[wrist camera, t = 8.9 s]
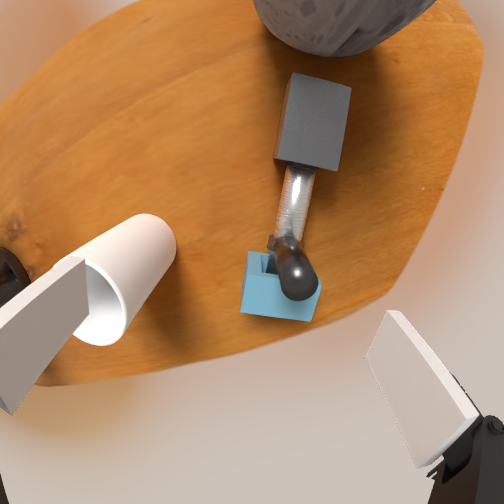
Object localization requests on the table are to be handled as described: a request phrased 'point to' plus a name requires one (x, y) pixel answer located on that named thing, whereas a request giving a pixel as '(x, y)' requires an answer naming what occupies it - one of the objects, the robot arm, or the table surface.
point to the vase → (337, 23)
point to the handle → (293, 235)
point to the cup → (122, 274)
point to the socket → (271, 293)
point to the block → (312, 122)
